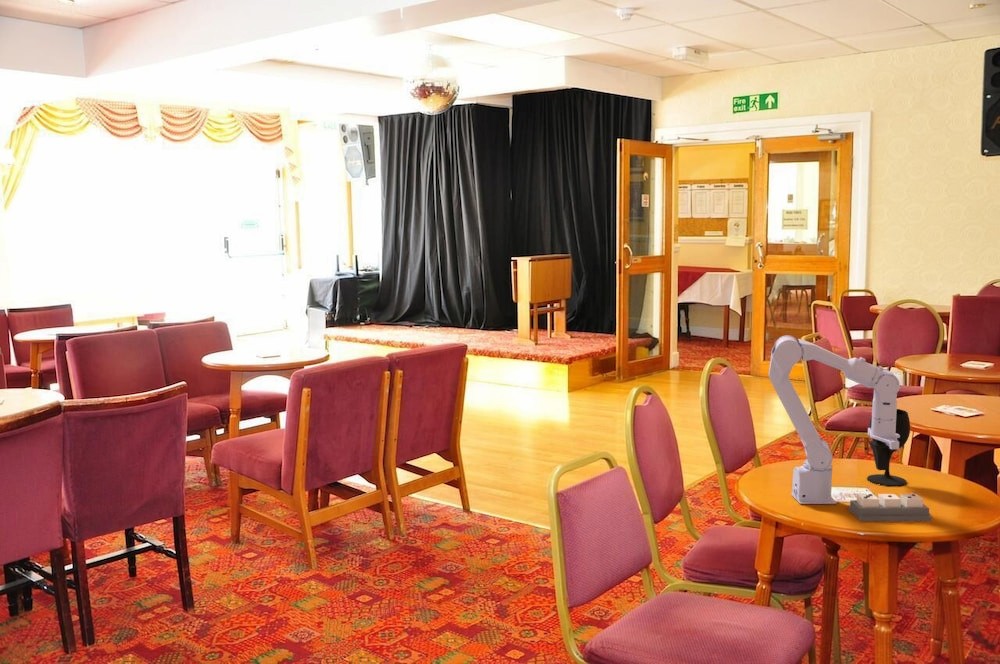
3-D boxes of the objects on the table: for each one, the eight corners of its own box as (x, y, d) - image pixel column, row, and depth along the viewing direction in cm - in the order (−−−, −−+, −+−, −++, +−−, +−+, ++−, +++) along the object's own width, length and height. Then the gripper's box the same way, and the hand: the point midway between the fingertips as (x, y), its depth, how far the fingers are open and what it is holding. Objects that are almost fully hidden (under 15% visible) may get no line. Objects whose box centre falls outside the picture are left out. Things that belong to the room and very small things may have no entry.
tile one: (884, 508, 222) (885, 498, 222) (877, 503, 226) (878, 493, 226) (900, 508, 222) (901, 498, 222) (893, 503, 226) (894, 493, 226)
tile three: (862, 508, 223) (863, 498, 222) (856, 503, 226) (856, 493, 226) (878, 508, 222) (879, 498, 222) (872, 503, 226) (872, 493, 226)
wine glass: (900, 476, 257) (904, 407, 254) (911, 487, 246) (916, 416, 244) (862, 474, 258) (866, 406, 255) (872, 486, 248) (875, 415, 245)
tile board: (861, 521, 220) (862, 510, 220) (847, 509, 229) (848, 498, 229) (931, 521, 220) (931, 510, 220) (914, 508, 229) (915, 498, 229)
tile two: (906, 508, 222) (907, 498, 222) (899, 503, 226) (900, 493, 226) (922, 508, 222) (923, 498, 222) (915, 503, 226) (916, 493, 226)
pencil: (909, 495, 240) (928, 519, 222) (911, 491, 240) (931, 516, 222) (912, 496, 240) (932, 521, 222) (915, 493, 240) (934, 518, 221)
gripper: (912, 424, 223) (909, 477, 224) (887, 411, 237) (885, 461, 239) (883, 424, 223) (881, 477, 224) (860, 411, 237) (858, 461, 239)
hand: (881, 469), depth 232 cm, fingers closed
